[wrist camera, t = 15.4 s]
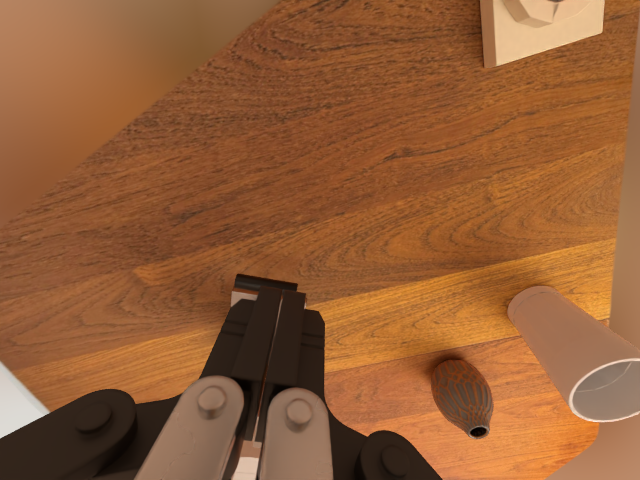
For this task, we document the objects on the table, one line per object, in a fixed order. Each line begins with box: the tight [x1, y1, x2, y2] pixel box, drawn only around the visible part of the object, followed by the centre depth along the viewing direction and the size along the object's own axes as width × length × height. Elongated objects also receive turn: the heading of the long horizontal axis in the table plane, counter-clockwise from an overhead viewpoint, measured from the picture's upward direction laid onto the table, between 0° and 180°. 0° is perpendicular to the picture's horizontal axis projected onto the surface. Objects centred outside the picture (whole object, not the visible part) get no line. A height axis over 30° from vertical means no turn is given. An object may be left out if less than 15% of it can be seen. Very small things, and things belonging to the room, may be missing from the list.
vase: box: [431, 360, 493, 439], centre depth 38 cm, size 7×7×9 cm
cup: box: [507, 286, 640, 422], centre depth 32 cm, size 8×8×12 cm
